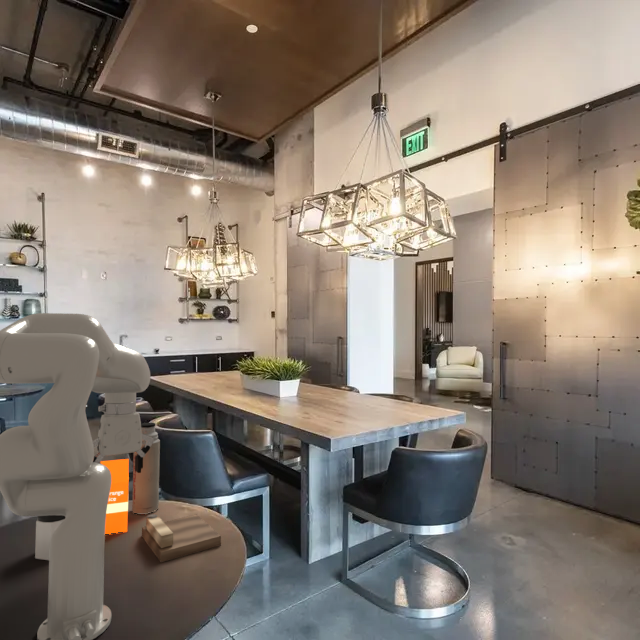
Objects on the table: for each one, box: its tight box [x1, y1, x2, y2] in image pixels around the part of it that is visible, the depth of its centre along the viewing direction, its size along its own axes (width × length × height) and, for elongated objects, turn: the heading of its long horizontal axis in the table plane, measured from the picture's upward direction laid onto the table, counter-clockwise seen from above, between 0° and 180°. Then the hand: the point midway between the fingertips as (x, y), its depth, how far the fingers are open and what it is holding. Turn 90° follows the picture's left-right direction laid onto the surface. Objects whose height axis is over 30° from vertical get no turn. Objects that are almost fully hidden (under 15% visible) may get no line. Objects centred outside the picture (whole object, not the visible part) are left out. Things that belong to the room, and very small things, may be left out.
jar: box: [34, 515, 65, 561], centre depth 116 cm, size 9×8×12 cm
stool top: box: [141, 513, 222, 563], centre depth 124 cm, size 18×16×2 cm
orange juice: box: [100, 458, 130, 535], centre depth 131 cm, size 8×9×20 cm
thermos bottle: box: [131, 422, 161, 514], centre depth 146 cm, size 8×8×28 cm
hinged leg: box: [145, 513, 173, 548], centre depth 120 cm, size 16×3×3 cm, turn 36°
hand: (118, 475), depth 116 cm, fingers open, 9 cm apart
